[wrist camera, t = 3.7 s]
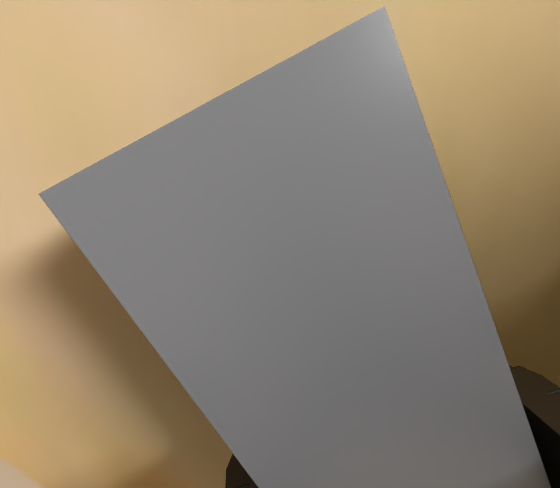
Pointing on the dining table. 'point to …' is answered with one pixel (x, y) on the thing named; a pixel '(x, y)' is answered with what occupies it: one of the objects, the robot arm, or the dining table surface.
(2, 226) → the dining table surface
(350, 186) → the grey rectangular brick
